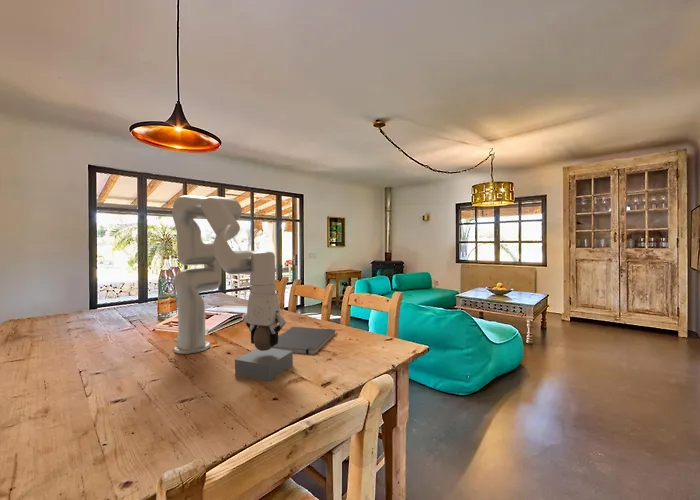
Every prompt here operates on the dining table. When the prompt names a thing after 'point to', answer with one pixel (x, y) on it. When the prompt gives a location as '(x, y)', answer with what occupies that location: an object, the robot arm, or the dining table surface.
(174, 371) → the dining table surface
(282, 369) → the slate block
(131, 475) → the dining table surface
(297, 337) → the notebook
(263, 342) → the vase
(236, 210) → the robot arm
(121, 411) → the dining table surface
